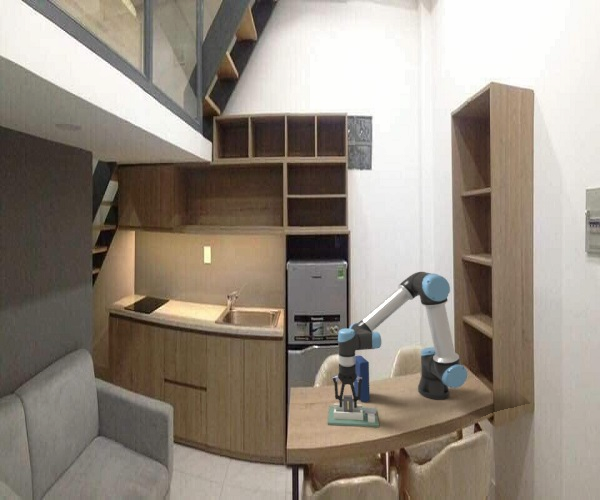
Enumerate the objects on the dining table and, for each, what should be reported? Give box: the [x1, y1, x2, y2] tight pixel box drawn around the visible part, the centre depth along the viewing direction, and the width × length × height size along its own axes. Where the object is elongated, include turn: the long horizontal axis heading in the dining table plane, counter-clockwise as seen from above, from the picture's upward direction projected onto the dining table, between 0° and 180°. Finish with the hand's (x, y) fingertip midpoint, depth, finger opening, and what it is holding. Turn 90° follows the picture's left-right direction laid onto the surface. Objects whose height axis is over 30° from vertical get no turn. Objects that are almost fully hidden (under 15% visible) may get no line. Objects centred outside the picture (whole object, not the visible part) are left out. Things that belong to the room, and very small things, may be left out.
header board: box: [327, 403, 380, 428], centre depth 151 cm, size 22×14×4 cm, turn 82°
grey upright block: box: [343, 394, 353, 412], centre depth 151 cm, size 4×6×8 cm, turn 172°
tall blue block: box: [353, 355, 371, 403], centre depth 169 cm, size 10×5×20 cm, turn 13°
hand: (348, 413), depth 151 cm, fingers closed on grey upright block, 4 cm apart
